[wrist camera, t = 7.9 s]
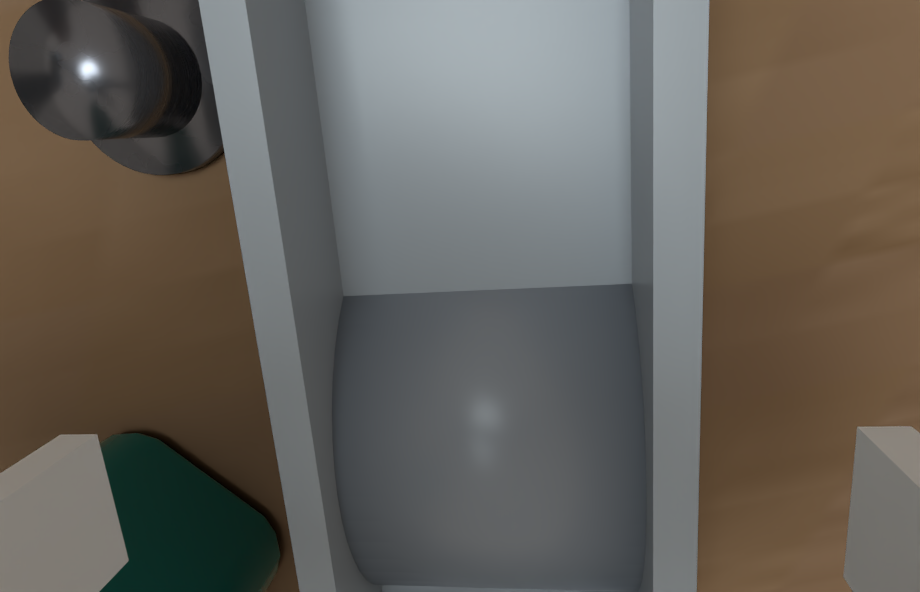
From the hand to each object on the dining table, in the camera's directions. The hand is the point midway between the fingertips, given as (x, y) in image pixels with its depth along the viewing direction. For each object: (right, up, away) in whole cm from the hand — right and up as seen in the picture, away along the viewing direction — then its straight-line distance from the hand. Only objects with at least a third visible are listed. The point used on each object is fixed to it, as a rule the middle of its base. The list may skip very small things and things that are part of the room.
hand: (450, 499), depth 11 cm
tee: (-10, +11, +10) cm, 17 cm away
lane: (+1, +14, +13) cm, 20 cm away
